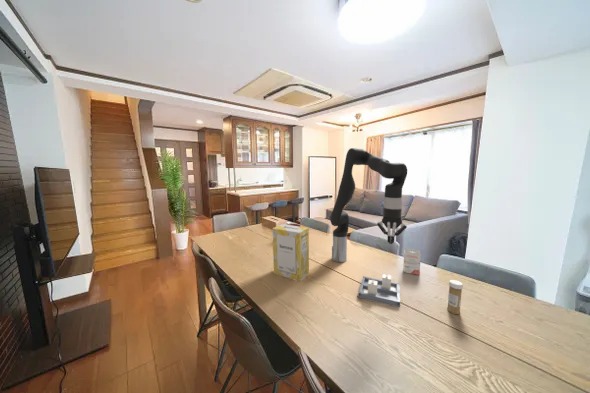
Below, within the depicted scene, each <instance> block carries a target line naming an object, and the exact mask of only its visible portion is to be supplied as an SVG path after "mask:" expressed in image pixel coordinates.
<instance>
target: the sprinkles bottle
mask: <svg viewBox="0 0 590 393" xmlns="http://www.w3.org/2000/svg"><path fill="white" fill-rule="evenodd" d="M448 285H449V287H448V288H449V289H448V295H447V296H448V298H447V307H446V310H447V311H448V312H450V313H451V314H453V315H460V313H461V304H462V293H463V292H462V291H463V290H462V289H463V287H464V284H463V283H462V282H461V281H459V280H456V279H450V280H449V284H448Z"/></svg>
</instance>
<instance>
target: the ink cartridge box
mask: <svg viewBox="0 0 590 393" xmlns="http://www.w3.org/2000/svg"><path fill="white" fill-rule="evenodd" d="M421 257H422V256H421V250H418V249H412V248H404V251H403V268H402V269H403V270H402V271H403V273H406V274H407V273H408V274H413V275H418V276H419V275H421Z"/></svg>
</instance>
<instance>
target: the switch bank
mask: <svg viewBox="0 0 590 393" xmlns="http://www.w3.org/2000/svg"><path fill="white" fill-rule="evenodd" d="M369 280H374V281H378V283H377V295H372V294H368V282H369ZM400 291H401V289H400V282H395V281H391V290H390V289H386V288H382V279H379V278H374V277H368V276H362V279H361V283H360V285H359V290H358V296H357V297H358V298H359V299H362V300H366V301H369V302H370V301H371V302H376V303H380V304H383V305H388V306H392V307H398V308H401V294H400V293H401V292H400Z"/></svg>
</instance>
